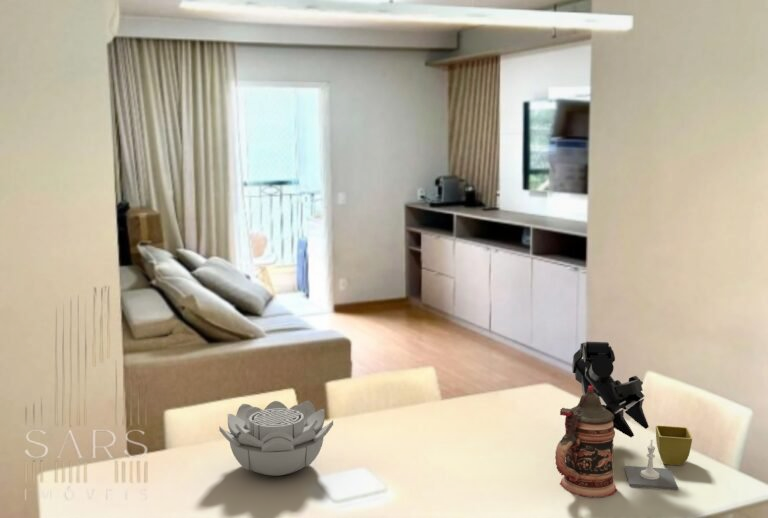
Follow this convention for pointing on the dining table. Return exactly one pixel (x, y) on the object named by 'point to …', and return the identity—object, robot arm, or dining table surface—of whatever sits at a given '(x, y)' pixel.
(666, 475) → the slate tile
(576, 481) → the beer stein
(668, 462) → the flower pot
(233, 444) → the decorative bowl
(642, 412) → the robot arm
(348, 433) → the dining table surface
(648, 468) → the chess piece
